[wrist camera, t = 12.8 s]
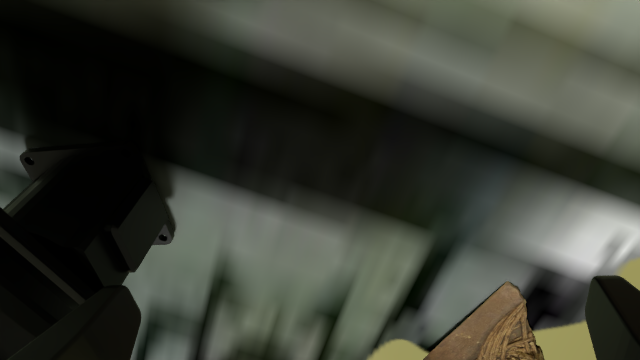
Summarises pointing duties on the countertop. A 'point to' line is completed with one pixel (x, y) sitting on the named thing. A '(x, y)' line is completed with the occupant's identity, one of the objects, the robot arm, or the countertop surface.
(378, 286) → the countertop surface
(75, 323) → the robot arm
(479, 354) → the wooden fragment
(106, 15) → the countertop surface
